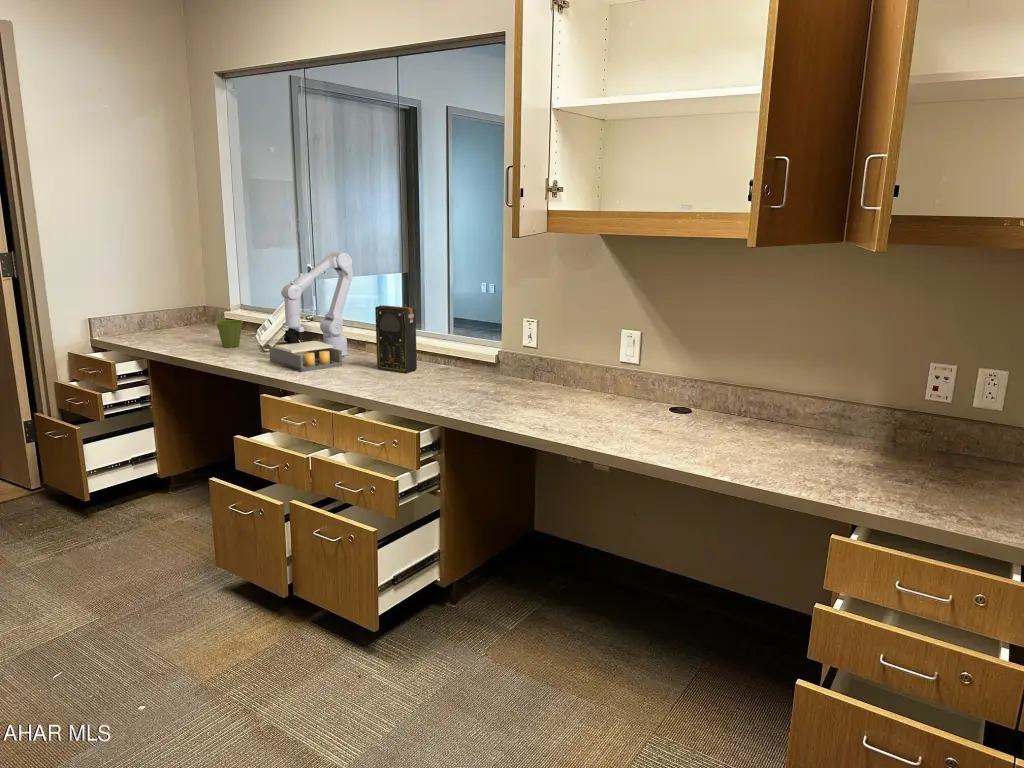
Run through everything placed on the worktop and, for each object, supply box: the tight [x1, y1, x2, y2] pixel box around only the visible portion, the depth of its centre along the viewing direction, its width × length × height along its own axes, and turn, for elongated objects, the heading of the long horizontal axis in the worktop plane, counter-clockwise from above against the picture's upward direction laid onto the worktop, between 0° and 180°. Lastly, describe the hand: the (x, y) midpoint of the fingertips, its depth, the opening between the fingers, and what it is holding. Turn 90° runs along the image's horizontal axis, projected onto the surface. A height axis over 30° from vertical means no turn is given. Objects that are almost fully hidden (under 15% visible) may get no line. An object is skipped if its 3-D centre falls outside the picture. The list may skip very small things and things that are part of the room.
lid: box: [274, 340, 333, 354], centre depth 295 cm, size 18×14×2 cm
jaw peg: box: [319, 351, 330, 365], centre depth 290 cm, size 4×4×6 cm
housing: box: [268, 346, 343, 373], centre depth 295 cm, size 18×26×6 cm
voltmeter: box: [374, 304, 418, 374], centre depth 283 cm, size 16×9×25 cm, turn 60°
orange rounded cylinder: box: [303, 352, 315, 367], centre depth 286 cm, size 4×4×6 cm
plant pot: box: [214, 319, 244, 348], centre depth 331 cm, size 12×12×11 cm
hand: (294, 347), depth 300 cm, fingers closed
